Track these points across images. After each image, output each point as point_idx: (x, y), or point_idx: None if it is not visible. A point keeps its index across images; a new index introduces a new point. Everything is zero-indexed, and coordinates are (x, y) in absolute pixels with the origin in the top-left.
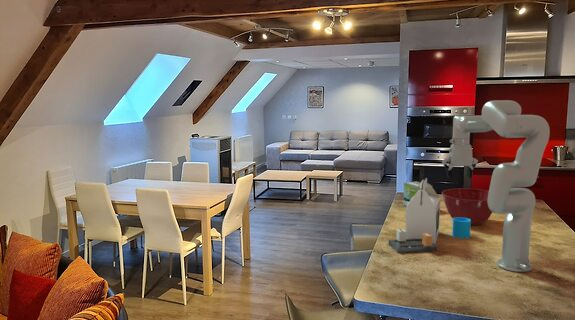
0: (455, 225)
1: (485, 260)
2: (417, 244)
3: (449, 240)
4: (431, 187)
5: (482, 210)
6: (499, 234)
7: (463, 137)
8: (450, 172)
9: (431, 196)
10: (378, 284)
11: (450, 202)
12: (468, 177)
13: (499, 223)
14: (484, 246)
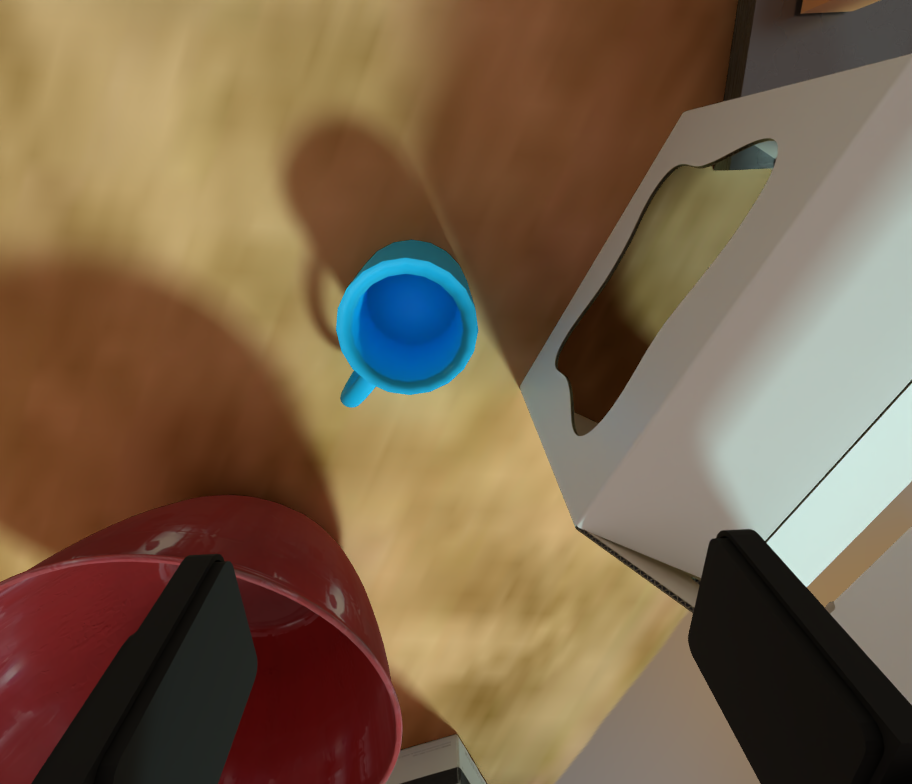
0: (469, 292)
1: None
2: (886, 6)
3: (536, 199)
4: None
5: (160, 516)
6: (141, 302)
7: None
8: (865, 666)
9: (688, 529)
10: None
11: (375, 634)
12: (240, 617)
13: (75, 520)
14: (346, 20)
